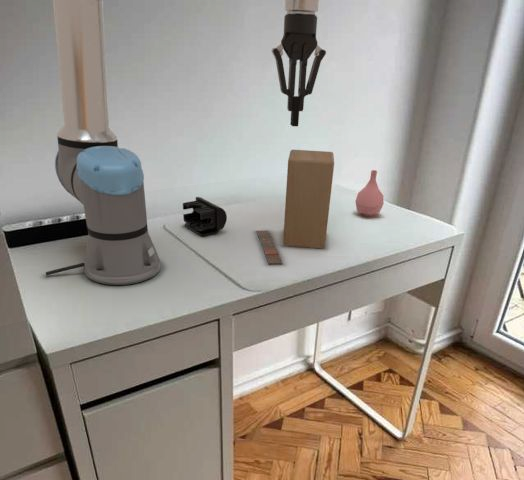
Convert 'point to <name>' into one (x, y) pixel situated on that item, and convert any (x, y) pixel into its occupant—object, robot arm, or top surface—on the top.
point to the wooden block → (308, 198)
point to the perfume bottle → (370, 197)
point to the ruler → (269, 248)
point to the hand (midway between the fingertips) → (294, 125)
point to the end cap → (204, 217)
